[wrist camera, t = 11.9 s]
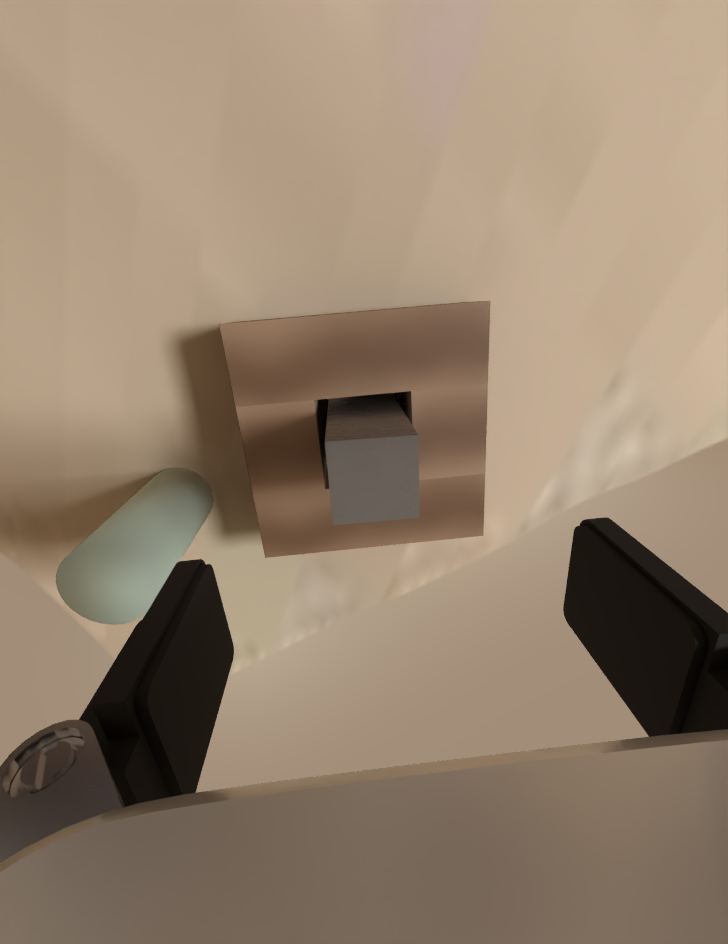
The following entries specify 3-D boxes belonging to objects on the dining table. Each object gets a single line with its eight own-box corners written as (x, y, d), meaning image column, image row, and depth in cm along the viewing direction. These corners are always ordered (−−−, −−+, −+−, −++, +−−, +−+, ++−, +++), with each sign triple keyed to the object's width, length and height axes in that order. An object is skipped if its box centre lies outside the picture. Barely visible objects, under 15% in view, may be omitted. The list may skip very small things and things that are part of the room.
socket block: (236, 322, 25) (219, 324, 21) (467, 302, 25) (490, 300, 22) (274, 526, 30) (265, 557, 26) (465, 507, 30) (483, 535, 27)
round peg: (140, 471, 28) (41, 551, 19) (205, 464, 28) (140, 541, 19) (157, 528, 30) (74, 628, 20) (219, 522, 30) (165, 619, 20)
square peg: (334, 454, 28) (333, 525, 19) (329, 396, 27) (324, 441, 18) (392, 449, 28) (419, 517, 19) (390, 391, 27) (418, 434, 18)
